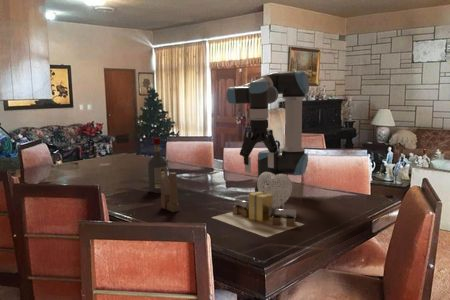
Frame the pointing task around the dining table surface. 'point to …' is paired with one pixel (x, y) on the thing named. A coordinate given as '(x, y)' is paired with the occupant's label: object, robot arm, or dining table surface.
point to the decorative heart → (275, 190)
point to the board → (255, 224)
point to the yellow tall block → (260, 207)
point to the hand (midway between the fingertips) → (259, 169)
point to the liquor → (156, 168)
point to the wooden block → (169, 193)
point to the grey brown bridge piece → (281, 213)
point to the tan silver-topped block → (241, 208)
